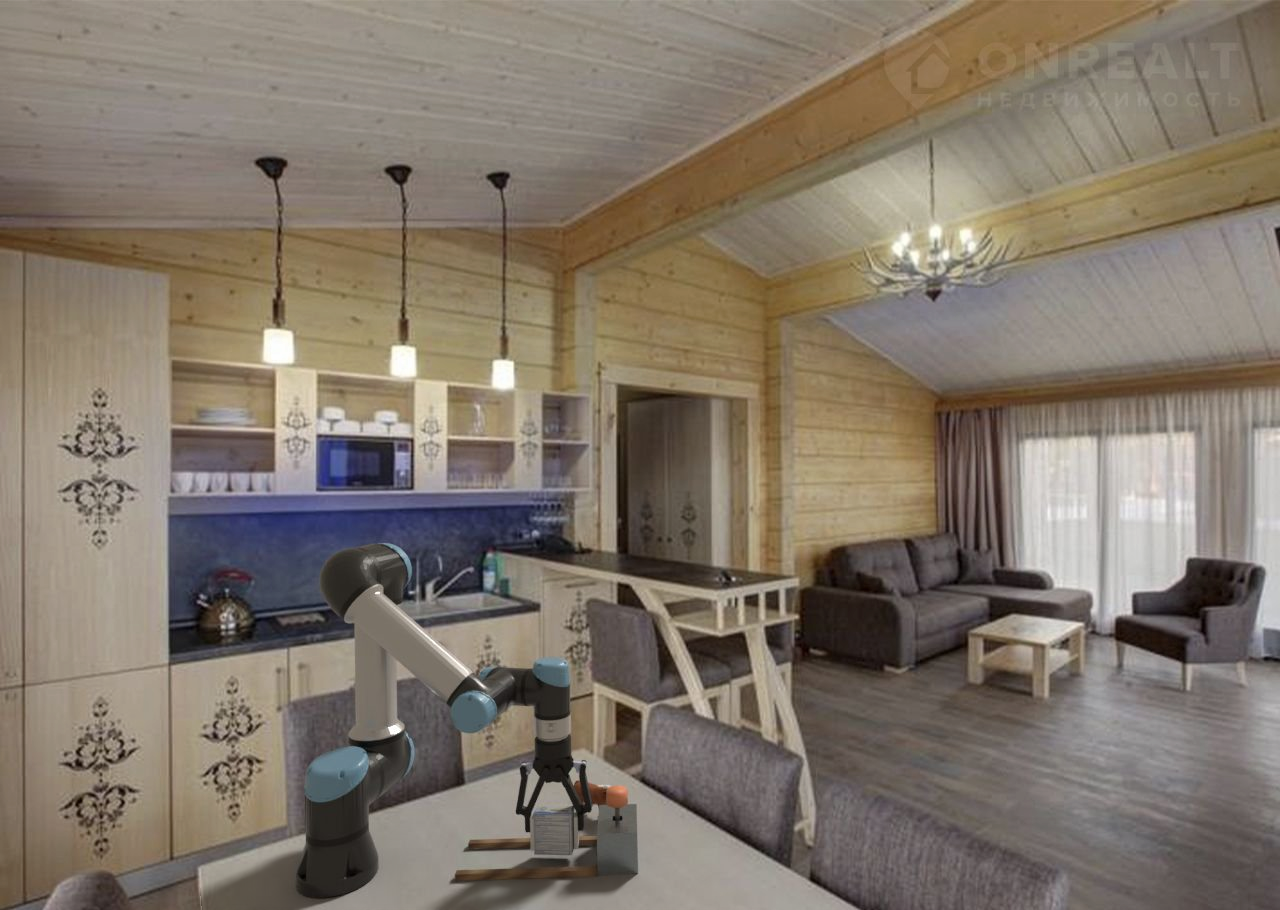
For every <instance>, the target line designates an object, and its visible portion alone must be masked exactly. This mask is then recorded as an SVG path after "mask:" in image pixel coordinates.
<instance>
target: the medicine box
mask: <svg viewBox="0 0 1280 910" xmlns="http://www.w3.org/2000/svg"><path fill="white" fill-rule="evenodd" d="M533 812H534V813H533V819H534V851H533V855H534V856H540V855H541V856H542V855H543V856H544V855H545V856H549V855H550V856H572V855H573V852H574V850H575V849H574V812H575V808H574V806H573V804H572V803H555V802H554V803H552V802H551V803H549V802H547V803H543V802H541V803H540V802H539V803H537V806H536V808H535V810H534V811H533Z"/></svg>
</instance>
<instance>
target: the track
mask: <svg viewBox="0 0 1280 910" xmlns="http://www.w3.org/2000/svg"><path fill="white" fill-rule="evenodd" d="M467 845H468V846H467V847H468V850H483V849H485V850H488V849H513V848H514V849H515V848H516V849H518V848H531V843H530V837H520V838H519V837H518V838H516V837H515V838H489V839H488V838H483V839H481V838H480V839H469V841H468V843H467ZM582 846H583V847H584V846H585V847H586V846H588V847H589V846H597V835H588V836H587V835H586V836H585V835H582V836H580V835H579V846H578V847H582ZM598 876H599V875H598V867H597V865H584V866H583V865H582V866H580V865H579V866H578V865H577V866H551V867H546V866H545V867H522V868H521V867H515V868H514V867H513V868H512V867H511V868H487V869H485V868H484V869H457V870H455V873H454V882H455V881H456V882H457V881H486V880H487V881H488V880H492V881H493V880H515V879H516V880H519V879H521V880H525V879H553V878H556V879H557V878H583V877H586V878H587V877H598Z"/></svg>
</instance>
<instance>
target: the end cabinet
mask: <svg viewBox="0 0 1280 910" xmlns="http://www.w3.org/2000/svg"><path fill="white" fill-rule="evenodd" d="M637 809H638V807H637V803H627V805H625V806H623V807H620V821H615V808H613V807H610V806H608V805H599V808H598V816H597V829H596V836H597V845H596V853H597V856H596V859H597V861H596V862H597V865H596V866H597V867H598V876H600V875H601V876H602V875H603V876H604V875H605V876H606V875H632V874H636V875H637V874H639V863H638V861H639V855H638V853H639V852H638V811H637Z"/></svg>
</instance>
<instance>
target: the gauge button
mask: <svg viewBox="0 0 1280 910" xmlns="http://www.w3.org/2000/svg"><path fill="white" fill-rule="evenodd" d="M628 794H629V793H628V787H626V786H624V785H612V786H611V787H609V788H608V789H607V790H606V801H607V805H608V806H610V807H613V808H615V821H620V807H623V806H625V805H627V804H629V802H628V801H629V799H628V798H629V797H628Z"/></svg>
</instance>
